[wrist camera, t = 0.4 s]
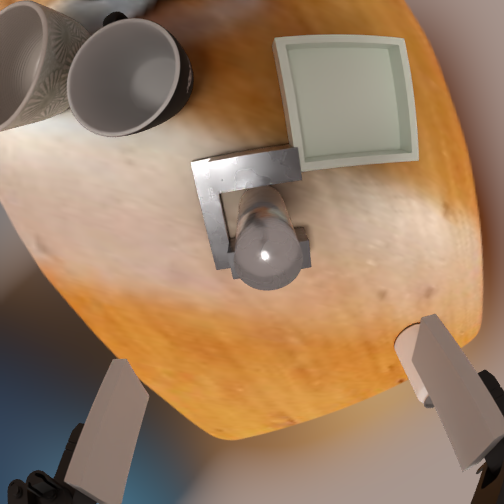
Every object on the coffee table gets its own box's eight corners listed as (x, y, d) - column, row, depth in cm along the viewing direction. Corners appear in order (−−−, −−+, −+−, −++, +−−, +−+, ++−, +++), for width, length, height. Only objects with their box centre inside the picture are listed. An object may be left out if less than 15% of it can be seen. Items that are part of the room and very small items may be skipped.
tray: (271, 45, 23) (274, 37, 20) (389, 44, 22) (404, 38, 19) (292, 166, 28) (297, 172, 26) (403, 155, 28) (418, 160, 25)
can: (428, 343, 40) (458, 396, 30) (394, 358, 41) (419, 415, 31) (428, 315, 38) (465, 371, 27) (392, 332, 39) (422, 393, 28)
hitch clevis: (192, 161, 28) (185, 167, 25) (292, 143, 27) (297, 147, 24) (217, 265, 33) (214, 282, 30) (305, 251, 33) (311, 267, 30)
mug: (217, 106, 26) (200, 102, 17) (136, 142, 27) (88, 158, 18) (177, 9, 21) (146, -30, 12) (100, 49, 22) (46, 33, 13)
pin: (235, 188, 30) (227, 235, 19) (280, 181, 29) (299, 223, 18) (243, 230, 32) (240, 294, 21) (286, 223, 31) (305, 284, 20)
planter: (124, 27, 21) (71, -2, 11) (84, 132, 26) (20, 147, 16) (46, 19, 19) (-12, 4, 9) (14, 111, 24) (-47, 123, 14)
